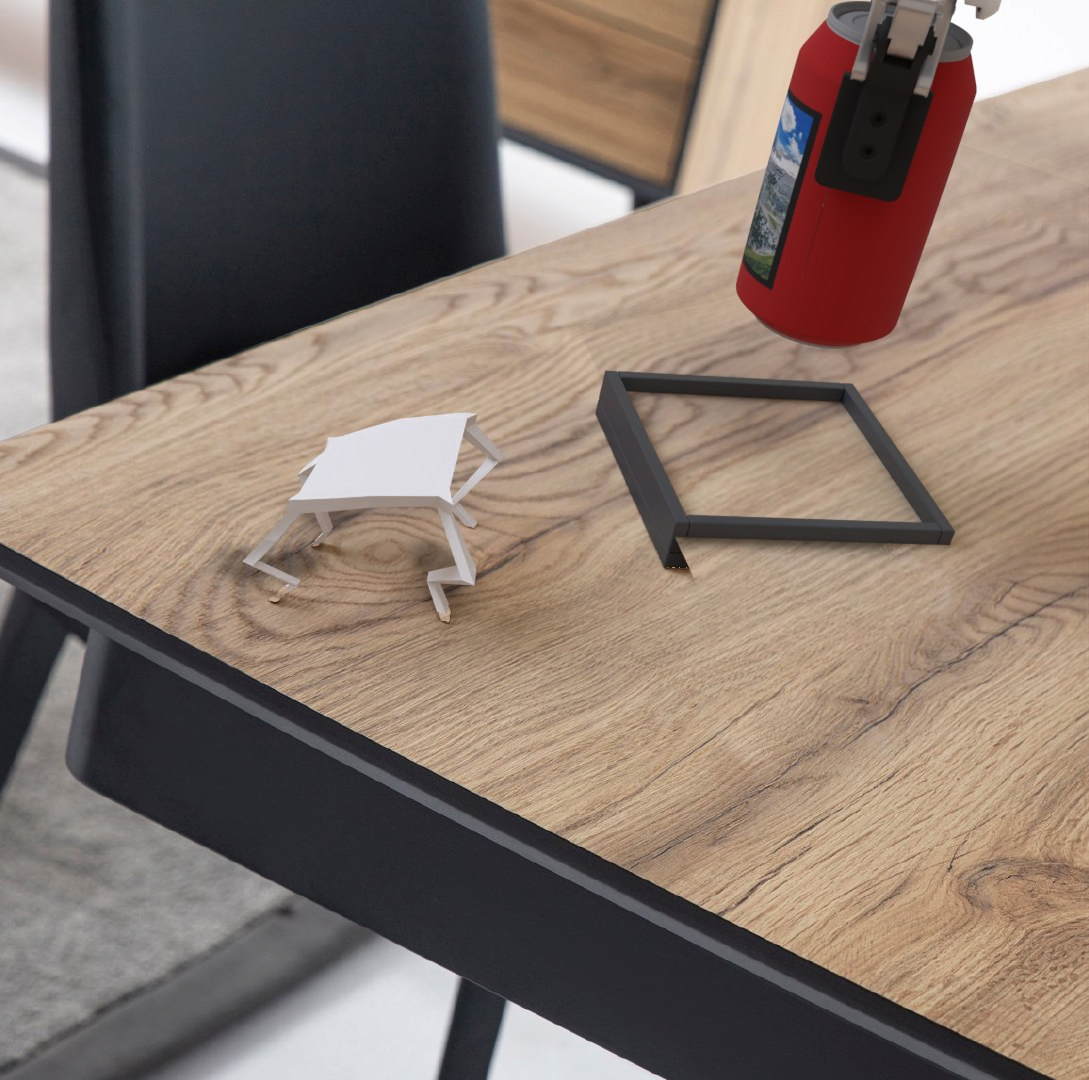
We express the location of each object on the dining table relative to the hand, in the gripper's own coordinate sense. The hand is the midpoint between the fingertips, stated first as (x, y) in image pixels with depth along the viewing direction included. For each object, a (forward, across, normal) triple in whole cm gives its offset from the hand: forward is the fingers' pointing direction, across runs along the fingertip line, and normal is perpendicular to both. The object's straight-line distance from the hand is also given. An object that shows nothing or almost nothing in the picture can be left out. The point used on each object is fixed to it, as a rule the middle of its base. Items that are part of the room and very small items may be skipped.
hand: (863, 153), depth 63 cm
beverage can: (+7, 0, 0) cm, 7 cm away
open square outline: (+15, 0, 0) cm, 15 cm away
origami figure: (+16, -13, +13) cm, 24 cm away
